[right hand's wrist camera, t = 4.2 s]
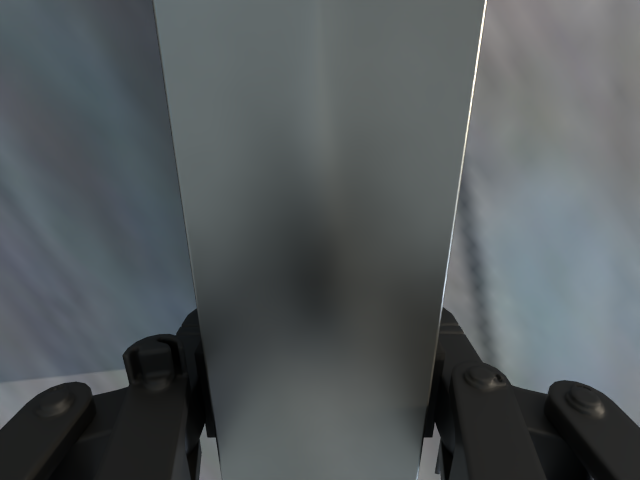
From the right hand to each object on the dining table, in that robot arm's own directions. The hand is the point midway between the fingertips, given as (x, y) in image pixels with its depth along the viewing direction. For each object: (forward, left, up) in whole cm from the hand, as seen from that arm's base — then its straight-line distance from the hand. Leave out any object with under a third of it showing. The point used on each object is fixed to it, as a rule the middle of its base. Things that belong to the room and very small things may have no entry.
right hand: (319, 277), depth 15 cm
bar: (+6, +6, -1) cm, 9 cm away
